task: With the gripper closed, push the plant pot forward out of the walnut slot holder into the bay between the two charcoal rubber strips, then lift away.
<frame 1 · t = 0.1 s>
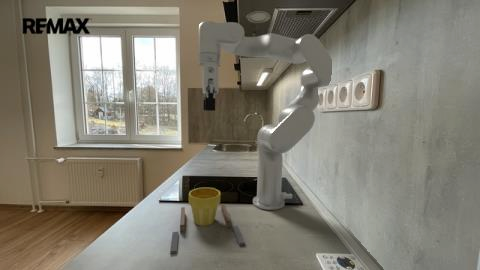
hand: (208, 110, 78), 37 cm above the counter, tool pointing down, fingers open, 9 cm apart
walnut slot holder: (204, 220, 73), on the counter
plant pot: (204, 221, 73), on the counter
rubber strips: (207, 239, 62), on the counter
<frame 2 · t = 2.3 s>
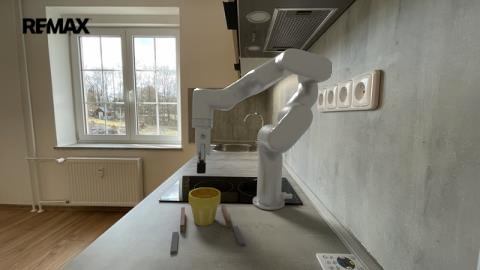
hand: (201, 172, 81), 13 cm above the counter, tool pointing down, fingers closed
nothing on the counter moved.
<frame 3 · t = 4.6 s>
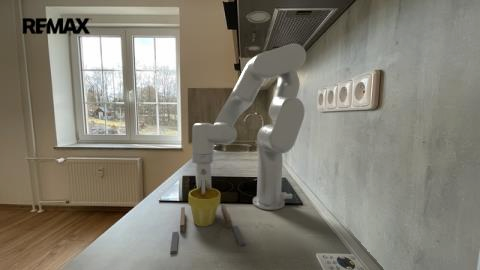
hand: (202, 206, 80), 1 cm above the counter, tool pointing down, fingers closed
plant pot: (204, 221, 73), on the counter, touching gripper
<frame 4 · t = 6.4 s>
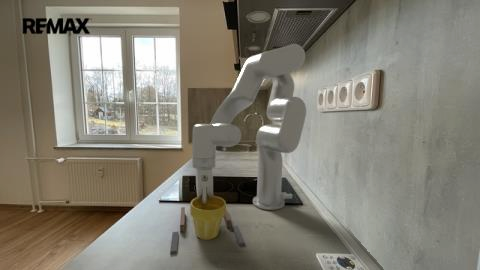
hand: (203, 215, 73), 2 cm above the counter, tool pointing down, fingers closed
plant pot: (207, 233, 65), on the counter, touching gripper
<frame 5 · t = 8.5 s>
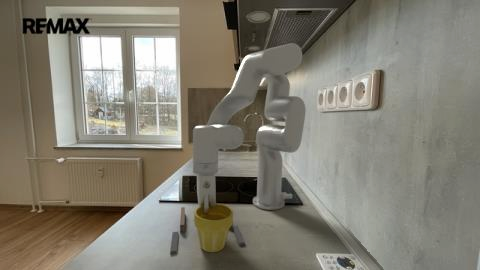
hand: (204, 224, 67), 2 cm above the counter, tool pointing down, fingers closed
plant pot: (213, 245, 60), on the counter, touching gripper
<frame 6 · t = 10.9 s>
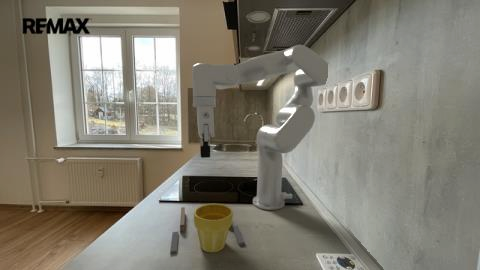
hand: (205, 156, 75), 21 cm above the counter, tool pointing down, fingers closed
plant pot: (213, 245, 60), on the counter
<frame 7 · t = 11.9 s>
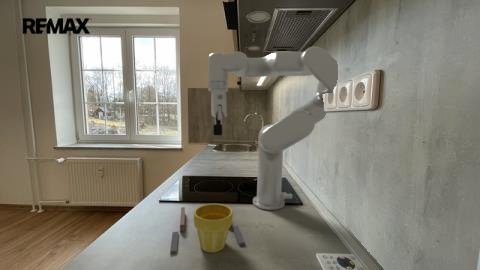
hand: (217, 134, 86), 27 cm above the counter, tool pointing down, fingers closed
nothing on the counter moved.
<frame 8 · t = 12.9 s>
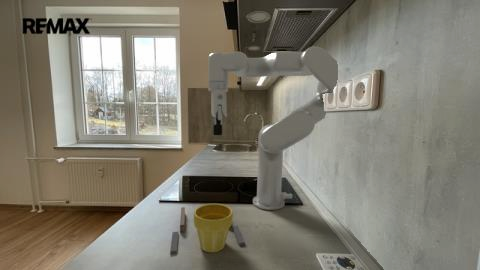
hand: (217, 134, 86), 27 cm above the counter, tool pointing down, fingers closed
nothing on the counter moved.
at the end: plant pot inside the target area (2.3 cm from its centre), on the counter; plant pot tilted 0°; plant pot moved 13.8 cm from its start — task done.
